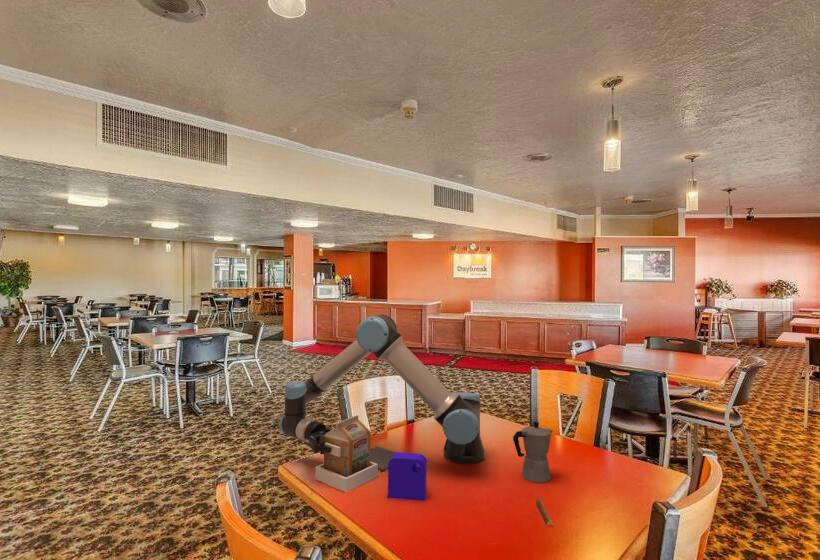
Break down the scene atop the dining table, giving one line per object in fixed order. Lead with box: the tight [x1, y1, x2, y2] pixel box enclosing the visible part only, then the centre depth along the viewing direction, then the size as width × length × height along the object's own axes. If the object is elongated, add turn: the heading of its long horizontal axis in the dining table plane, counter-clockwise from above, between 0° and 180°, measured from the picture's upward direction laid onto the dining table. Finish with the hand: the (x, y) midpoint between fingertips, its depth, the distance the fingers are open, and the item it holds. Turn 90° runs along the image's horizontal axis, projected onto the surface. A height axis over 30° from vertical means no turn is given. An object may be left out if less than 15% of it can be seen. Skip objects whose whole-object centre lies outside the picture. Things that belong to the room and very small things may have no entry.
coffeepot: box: [512, 421, 554, 484], centre depth 138 cm, size 15×9×18 cm, turn 110°
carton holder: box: [314, 461, 379, 493], centre depth 136 cm, size 14×14×4 cm
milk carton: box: [323, 414, 371, 477], centre depth 137 cm, size 11×11×19 cm
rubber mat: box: [370, 445, 398, 472], centre depth 152 cm, size 16×14×1 cm
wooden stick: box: [534, 496, 554, 526], centre depth 115 cm, size 3×12×2 cm, turn 177°
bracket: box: [387, 451, 428, 502], centre depth 132 cm, size 18×11×12 cm, turn 172°
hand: (355, 446), depth 134 cm, fingers open, 12 cm apart
